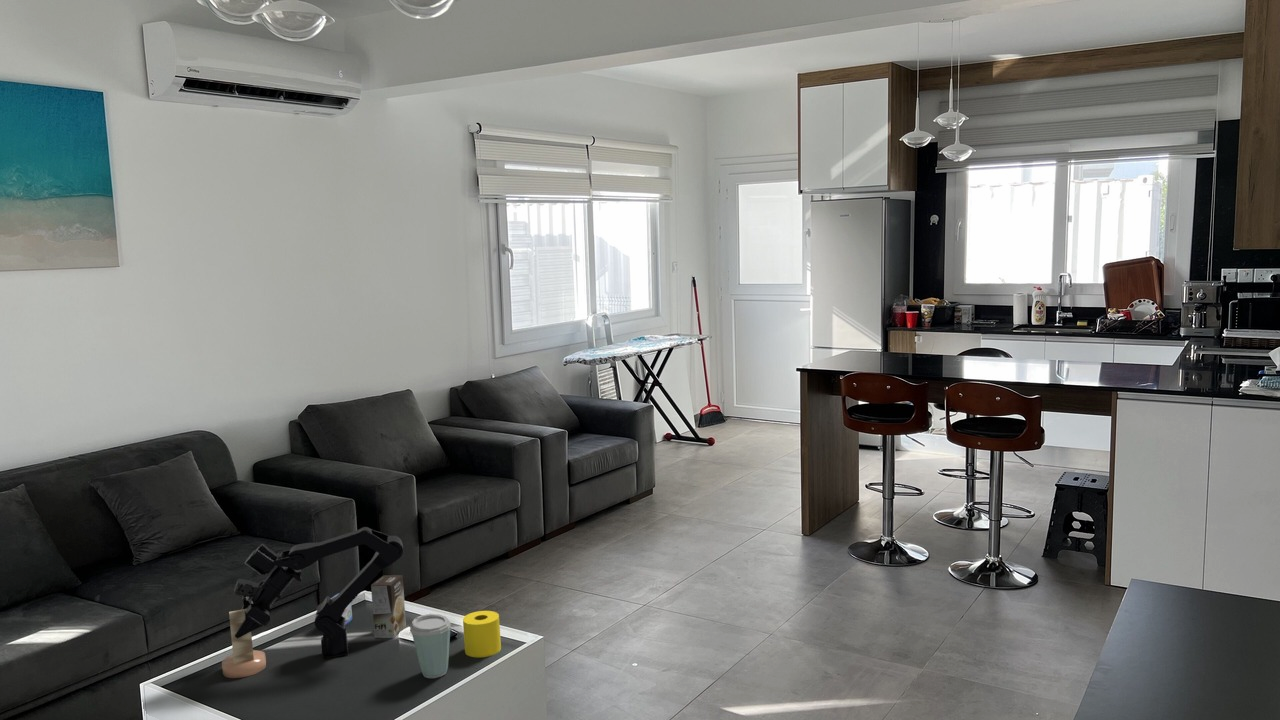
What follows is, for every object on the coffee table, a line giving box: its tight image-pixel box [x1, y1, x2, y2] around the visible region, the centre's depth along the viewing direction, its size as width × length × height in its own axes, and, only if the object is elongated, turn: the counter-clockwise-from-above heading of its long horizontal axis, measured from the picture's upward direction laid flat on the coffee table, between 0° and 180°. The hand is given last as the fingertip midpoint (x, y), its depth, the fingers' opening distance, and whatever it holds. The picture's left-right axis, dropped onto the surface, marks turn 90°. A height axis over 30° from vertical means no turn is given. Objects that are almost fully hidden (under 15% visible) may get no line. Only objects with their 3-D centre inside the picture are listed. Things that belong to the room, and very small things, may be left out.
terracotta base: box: [221, 649, 267, 679], centre depth 259 cm, size 11×11×3 cm
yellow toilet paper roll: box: [462, 610, 502, 658], centre depth 265 cm, size 10×10×9 cm
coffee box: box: [370, 574, 407, 639], centre depth 280 cm, size 9×6×16 cm
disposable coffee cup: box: [409, 613, 452, 679], centre depth 250 cm, size 11×11×15 cm
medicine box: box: [330, 592, 353, 626], centre depth 288 cm, size 8×4×9 cm, turn 169°
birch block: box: [228, 608, 254, 664], centre depth 259 cm, size 5×5×13 cm
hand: (235, 631), depth 258 cm, fingers open, 9 cm apart
